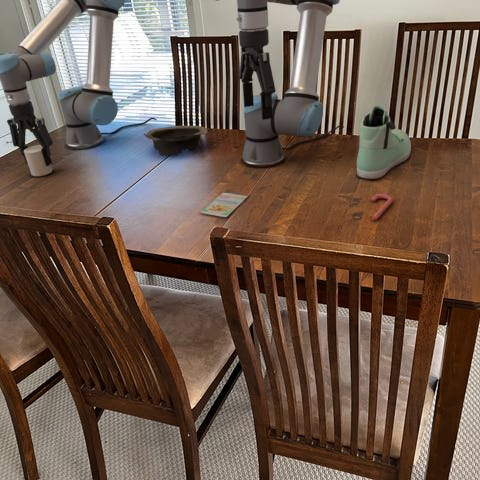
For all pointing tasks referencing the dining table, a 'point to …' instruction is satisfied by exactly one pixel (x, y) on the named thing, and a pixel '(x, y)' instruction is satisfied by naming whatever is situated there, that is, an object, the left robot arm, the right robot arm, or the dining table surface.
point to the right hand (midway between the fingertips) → (257, 112)
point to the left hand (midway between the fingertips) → (39, 164)
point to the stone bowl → (176, 139)
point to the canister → (36, 161)
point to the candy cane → (385, 206)
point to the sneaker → (380, 145)
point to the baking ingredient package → (224, 204)
